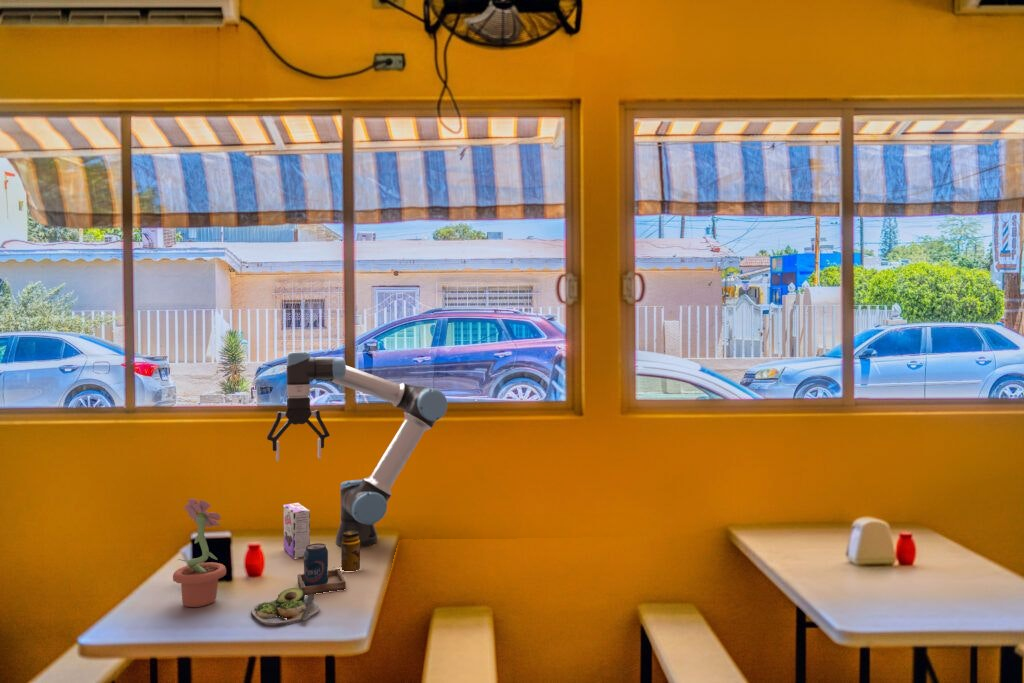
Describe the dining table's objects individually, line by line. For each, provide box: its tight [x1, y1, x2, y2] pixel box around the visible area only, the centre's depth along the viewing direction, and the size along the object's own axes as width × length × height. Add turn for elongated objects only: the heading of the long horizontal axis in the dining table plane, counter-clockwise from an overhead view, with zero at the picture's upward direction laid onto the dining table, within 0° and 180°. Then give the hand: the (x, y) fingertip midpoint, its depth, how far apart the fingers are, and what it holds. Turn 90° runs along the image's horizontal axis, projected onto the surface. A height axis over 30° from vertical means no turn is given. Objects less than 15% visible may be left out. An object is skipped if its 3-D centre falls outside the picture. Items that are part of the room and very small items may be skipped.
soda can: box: [303, 543, 329, 586], centre depth 198 cm, size 7×7×12 cm
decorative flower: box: [172, 498, 227, 608], centre depth 188 cm, size 15×14×30 cm
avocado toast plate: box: [250, 587, 321, 627], centre depth 179 cm, size 19×18×5 cm
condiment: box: [333, 531, 365, 572], centre depth 215 cm, size 7×8×12 cm
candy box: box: [282, 502, 311, 560], centre depth 233 cm, size 14×6×16 cm, turn 33°
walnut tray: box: [297, 569, 347, 595], centre depth 200 cm, size 13×13×2 cm
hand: (298, 459), depth 224 cm, fingers open, 13 cm apart
